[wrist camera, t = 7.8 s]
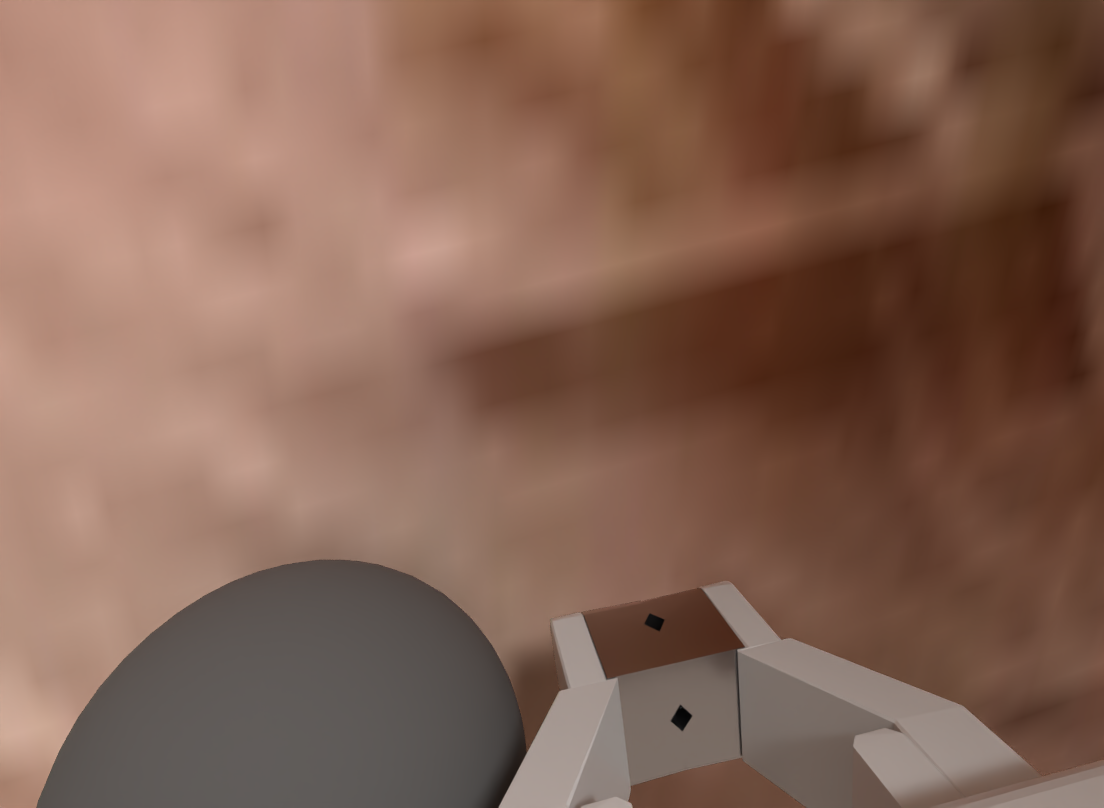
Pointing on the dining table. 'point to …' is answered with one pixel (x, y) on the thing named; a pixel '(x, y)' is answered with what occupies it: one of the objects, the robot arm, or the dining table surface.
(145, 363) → the dining table surface
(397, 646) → the dark grey ball
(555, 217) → the dining table surface
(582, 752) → the robot arm
